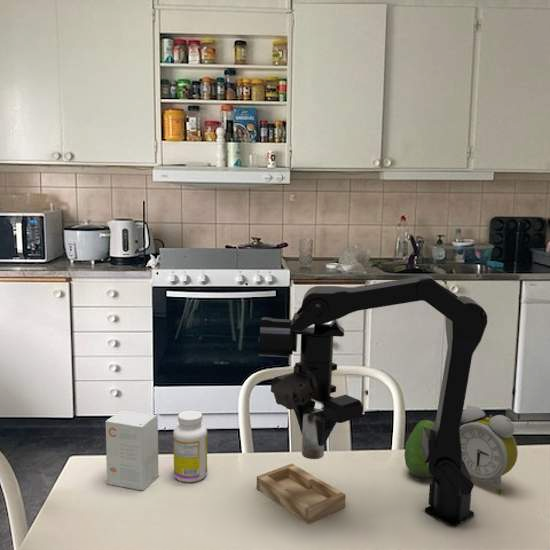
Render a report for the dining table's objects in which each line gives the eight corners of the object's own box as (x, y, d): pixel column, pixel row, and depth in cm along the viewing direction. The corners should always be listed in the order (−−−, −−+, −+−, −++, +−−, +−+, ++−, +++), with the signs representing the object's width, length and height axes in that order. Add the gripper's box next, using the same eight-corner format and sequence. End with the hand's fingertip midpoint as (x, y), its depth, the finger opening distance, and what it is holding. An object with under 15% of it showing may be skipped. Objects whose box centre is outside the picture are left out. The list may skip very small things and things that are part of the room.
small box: (159, 476, 121) (158, 414, 119) (143, 491, 115) (142, 426, 113) (123, 469, 123) (122, 408, 121) (105, 484, 117) (104, 420, 115)
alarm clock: (448, 475, 124) (454, 405, 122) (466, 465, 128) (472, 398, 126) (502, 498, 115) (509, 424, 113) (519, 487, 120) (526, 415, 117)
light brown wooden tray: (345, 507, 111) (345, 494, 111) (308, 523, 105) (309, 510, 105) (291, 474, 123) (292, 463, 122) (256, 488, 117) (256, 476, 116)
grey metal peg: (328, 455, 110) (330, 413, 109) (312, 461, 108) (313, 418, 106) (313, 447, 113) (314, 406, 112) (297, 453, 111) (298, 411, 109)
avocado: (446, 485, 120) (451, 428, 118) (406, 484, 120) (410, 427, 118) (436, 466, 128) (440, 412, 126) (399, 465, 128) (402, 411, 126)
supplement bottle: (191, 464, 126) (191, 405, 124) (214, 474, 122) (214, 414, 120) (166, 476, 121) (166, 415, 119) (189, 487, 117) (189, 424, 115)
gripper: (248, 352, 109) (246, 434, 112) (319, 381, 95) (315, 474, 98) (295, 343, 116) (292, 420, 119) (367, 368, 102) (362, 455, 105)
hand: (313, 441), depth 110 cm, fingers closed on grey metal peg, 4 cm apart
